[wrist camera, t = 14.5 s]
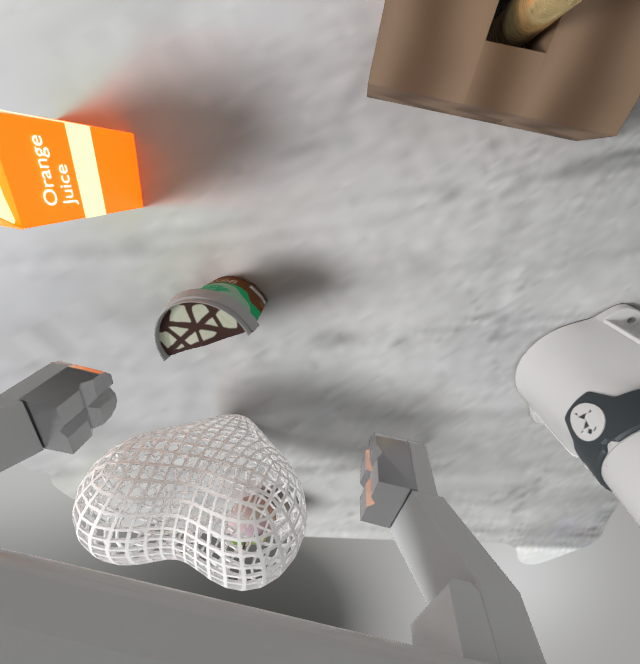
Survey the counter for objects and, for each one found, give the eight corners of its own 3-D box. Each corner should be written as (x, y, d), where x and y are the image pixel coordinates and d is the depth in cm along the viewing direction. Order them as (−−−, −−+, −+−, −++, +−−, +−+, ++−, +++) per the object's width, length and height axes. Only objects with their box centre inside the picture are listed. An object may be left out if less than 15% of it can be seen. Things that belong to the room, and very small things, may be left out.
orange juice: (55, 117, 32) (-307, 57, 15) (134, 131, 32) (-140, 88, 14) (74, 195, 36) (-195, 221, 19) (144, 209, 36) (-62, 248, 18)
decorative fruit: (264, 476, 58) (247, 531, 50) (288, 500, 61) (276, 556, 52) (229, 487, 61) (207, 540, 53) (253, 510, 64) (236, 563, 56)
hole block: (676, -51, 22) (755, -105, 17) (576, 141, 28) (616, 135, 23) (409, -104, 22) (420, -172, 18) (366, 96, 28) (368, 83, 24)
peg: (532, 14, 24) (627, -73, 15) (513, 62, 26) (591, 8, 17) (496, 7, 24) (570, -84, 16) (479, 55, 26) (539, -3, 17)
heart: (326, 398, 46) (302, 561, 27) (315, 461, 54) (289, 624, 35) (155, 367, 48) (15, 502, 28) (167, 433, 55) (64, 575, 36)
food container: (256, 253, 37) (223, 279, 28) (277, 297, 39) (253, 334, 30) (177, 283, 40) (126, 316, 31) (201, 322, 43) (160, 362, 34)
